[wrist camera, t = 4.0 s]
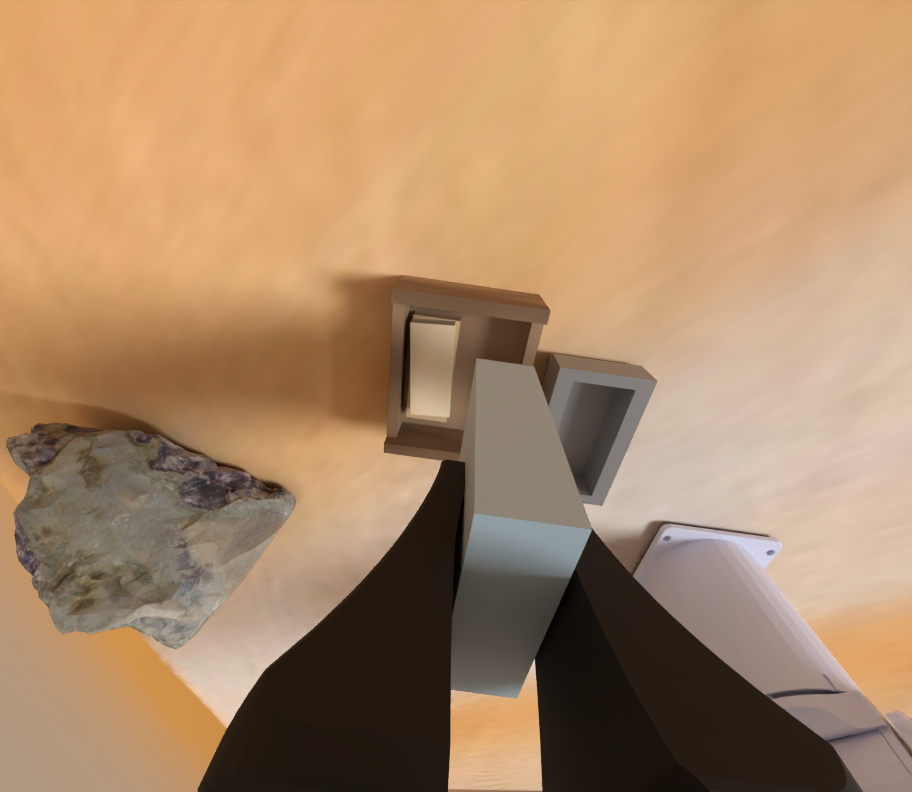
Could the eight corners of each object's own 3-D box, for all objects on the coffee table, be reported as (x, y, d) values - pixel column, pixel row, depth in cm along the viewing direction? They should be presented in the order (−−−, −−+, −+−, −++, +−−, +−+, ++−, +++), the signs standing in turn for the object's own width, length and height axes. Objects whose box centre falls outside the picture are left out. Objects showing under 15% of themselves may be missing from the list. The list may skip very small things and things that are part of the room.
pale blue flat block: (500, 496, 15) (516, 698, 9) (454, 489, 15) (436, 687, 9) (534, 366, 12) (592, 529, 6) (476, 358, 12) (473, 512, 6)
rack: (505, 436, 21) (509, 469, 18) (395, 421, 21) (383, 452, 18) (539, 294, 17) (550, 310, 14) (403, 275, 17) (390, 287, 14)
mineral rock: (67, 406, 22) (-213, 541, 13) (202, 352, 20) (-24, 470, 11) (202, 544, 27) (70, 705, 18) (321, 514, 25) (235, 680, 16)
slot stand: (591, 479, 22) (602, 505, 20) (519, 470, 22) (522, 495, 20) (638, 363, 18) (657, 381, 17) (551, 350, 18) (560, 367, 16)
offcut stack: (449, 416, 20) (447, 429, 18) (407, 410, 20) (403, 423, 18) (463, 317, 17) (462, 325, 16) (415, 310, 17) (410, 318, 16)
